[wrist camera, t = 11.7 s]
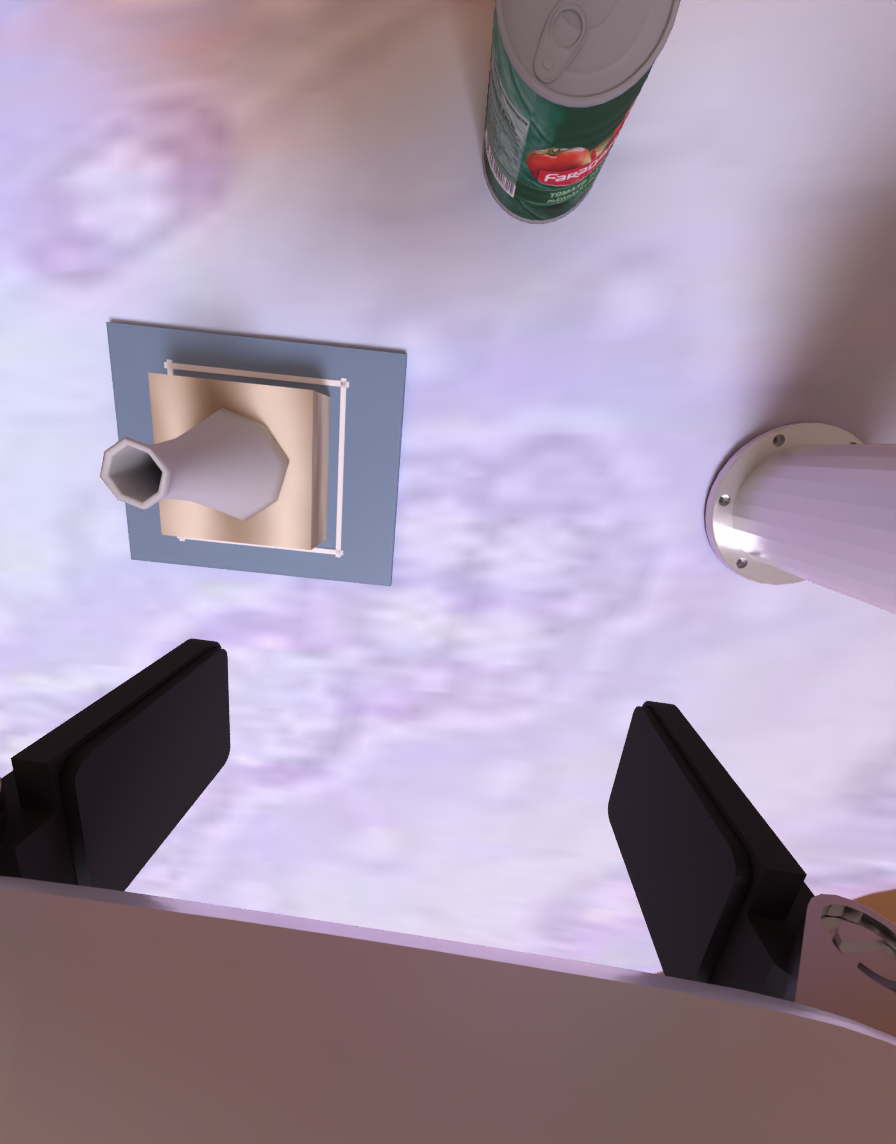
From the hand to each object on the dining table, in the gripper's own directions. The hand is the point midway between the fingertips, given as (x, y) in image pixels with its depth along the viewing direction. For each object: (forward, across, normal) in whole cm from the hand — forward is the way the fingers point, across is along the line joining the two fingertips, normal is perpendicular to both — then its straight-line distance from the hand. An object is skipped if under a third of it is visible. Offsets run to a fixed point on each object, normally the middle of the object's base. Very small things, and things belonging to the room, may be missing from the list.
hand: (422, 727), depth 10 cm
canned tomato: (+27, -2, -25) cm, 37 cm away
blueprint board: (+26, +16, -3) cm, 31 cm away
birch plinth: (+26, +16, -3) cm, 31 cm away
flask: (+22, +16, -3) cm, 27 cm away
